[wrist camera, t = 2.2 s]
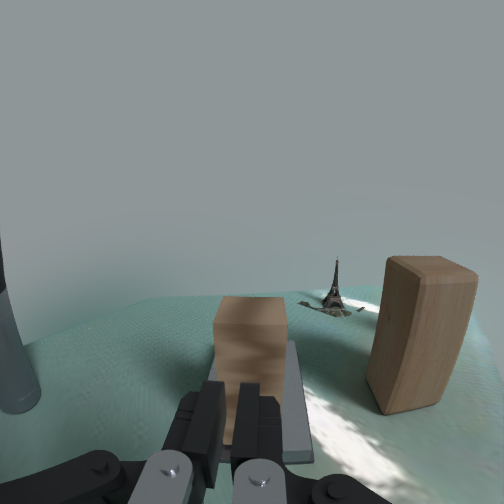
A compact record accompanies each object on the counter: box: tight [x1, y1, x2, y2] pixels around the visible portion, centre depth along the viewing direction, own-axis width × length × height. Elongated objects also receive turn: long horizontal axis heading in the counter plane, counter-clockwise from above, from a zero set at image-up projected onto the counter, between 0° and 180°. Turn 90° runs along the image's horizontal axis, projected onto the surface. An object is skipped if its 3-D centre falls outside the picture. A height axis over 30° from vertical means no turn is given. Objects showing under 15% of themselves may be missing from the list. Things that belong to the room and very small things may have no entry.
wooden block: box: [366, 256, 478, 415], centre depth 31 cm, size 10×10×20 cm
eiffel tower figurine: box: [298, 260, 365, 317], centre depth 66 cm, size 15×10×13 cm
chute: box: [208, 340, 314, 465], centre depth 35 cm, size 14×24×3 cm, turn 177°
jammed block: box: [213, 296, 288, 445], centre depth 26 cm, size 6×6×16 cm
